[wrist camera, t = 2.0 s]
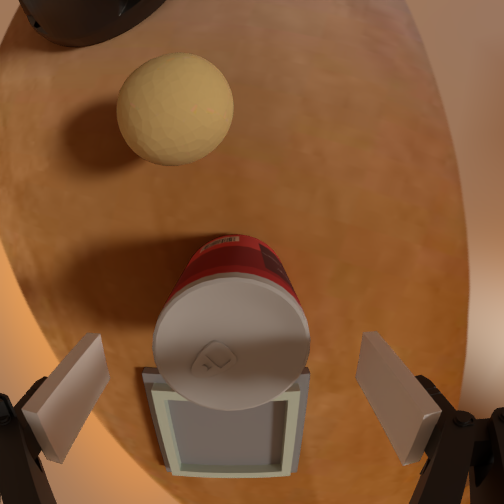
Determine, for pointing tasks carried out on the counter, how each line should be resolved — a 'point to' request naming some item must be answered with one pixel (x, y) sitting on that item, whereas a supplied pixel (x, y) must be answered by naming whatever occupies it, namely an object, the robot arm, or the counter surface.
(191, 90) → the light bulb
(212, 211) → the counter surface
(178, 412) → the coaster
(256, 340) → the canned food
